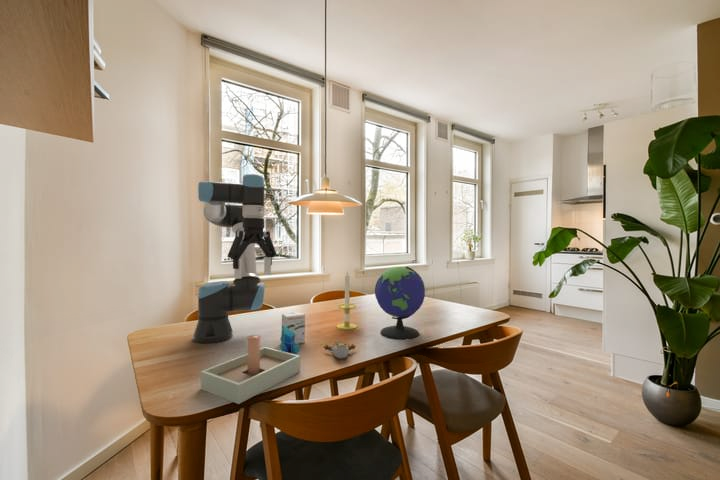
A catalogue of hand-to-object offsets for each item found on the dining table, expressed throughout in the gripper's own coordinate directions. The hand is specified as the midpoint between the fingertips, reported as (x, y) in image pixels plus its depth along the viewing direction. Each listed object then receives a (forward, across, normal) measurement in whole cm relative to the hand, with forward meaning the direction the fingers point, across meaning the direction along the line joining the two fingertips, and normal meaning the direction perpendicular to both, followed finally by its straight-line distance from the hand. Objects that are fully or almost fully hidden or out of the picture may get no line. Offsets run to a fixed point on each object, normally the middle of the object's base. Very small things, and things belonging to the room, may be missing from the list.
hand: (253, 276), depth 118 cm
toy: (+29, +18, -26) cm, 43 cm away
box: (+29, -14, -16) cm, 36 cm away
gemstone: (+29, +4, -14) cm, 32 cm away
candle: (+29, +49, -9) cm, 58 cm away
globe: (+29, +52, -35) cm, 69 cm away
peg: (+29, -14, -16) cm, 36 cm away
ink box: (+29, +18, -3) cm, 34 cm away
